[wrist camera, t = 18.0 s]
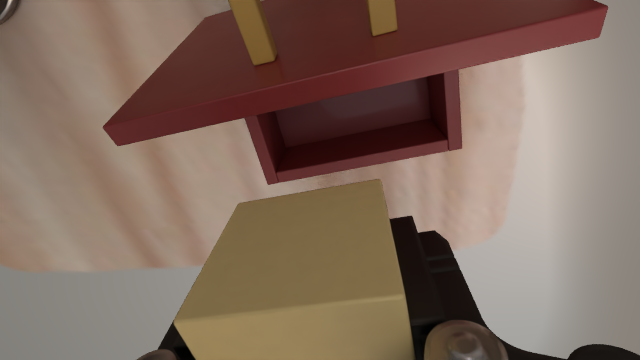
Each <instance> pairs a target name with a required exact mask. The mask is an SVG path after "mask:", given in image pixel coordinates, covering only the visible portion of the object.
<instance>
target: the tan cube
mask: <svg viewBox="0 0 640 360" xmlns="http://www.w3.org/2000/svg"><path fill="white" fill-rule="evenodd" d="M174 325H175V327H176V329H177V330H178V332H179V334H180V335H181V337H182V338H183V340H184V342H185V343H186V345H187V346H188V348H189V350H190V351H191V353H192V354H193V356H194V358H195V359H196V360H416V358H415V352H414V345H413V339H412V333H411V327H410V321H409V314H408V308H407V302H406V296H405V291H404V286H403V282H402V277H401V272H400V267H399V263H398V258H397V253H396V248H395V244H394V239H393V234H392V230H391V225H390V220H389V215H388V211H387V206H386V201H385V197H384V192H383V187H382V182H381V180H380V179H375V180H369V181H363V182H358V183H352V184H346V185H340V186H335V187H329V188H323V189H317V190H312V191H306V192H300V193H294V194H289V195H283V196H277V197H271V198H266V199H260V200H254V201H248V202H243V203H239V204H238V205H237V207H236V209H235V210H234V212H233V214H232V216H231V218H230V220H229V221H228V223H227V225H226V227H225V229H224V230H223V232H222V234H221V236H220V238H219V239H218V241H217V243H216V245H215V247H214V248H213V250H212V252H211V254H210V256H209V258H208V259H207V261H206V263H205V265H204V267H203V268H202V270H201V272H200V274H199V276H198V277H197V279H196V281H195V283H194V285H193V286H192V288H191V290H190V292H189V294H188V295H187V297H186V299H185V301H184V303H183V305H182V306H181V308H180V310H179V312H178V314H177V315H176V317H175V319H174Z"/></svg>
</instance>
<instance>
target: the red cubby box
mask: <svg viewBox="0 0 640 360" xmlns="http://www.w3.org/2000/svg"><path fill="white" fill-rule="evenodd" d="M245 121H246V124H247V127H248V129H249V132H250V135H251V138H252V141H253V144H254V147H255V149H256V152H257V155H258V158H259V161H260V164H261V167H262V169H263V172H264V175H265V178H266V181H267V184H268V185H270V184H275V183H279V182H285V181H291V180H296V179H301V178H307V177H312V176H317V175H323V174H328V173H333V172H339V171H344V170H349V169H355V168H360V167H365V166H371V165H376V164H381V163H386V162H392V161H397V160H402V159H408V158H413V157H418V156H424V155H429V154H434V153H440V152H445V151H448V150H449V151H452V150H457V149H462V134H461V114H460V94H459V74H458V70H453V71H449V72H445V73H440V74H436V75H431V76H427V77H422V78H418V79H414V80H409V81H405V82H400V83H396V84H392V85H387V86H383V87H378V88H374V89H369V90H365V91H361V92H356V93H352V94H347V95H343V96H338V97H334V98H330V99H325V100H321V101H316V102H312V103H307V104H303V105H299V106H294V107H290V108H285V109H281V110H276V111H272V112H268V113H263V114H259V115H254V116H250V117H246V118H245Z"/></svg>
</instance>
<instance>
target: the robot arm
mask: <svg viewBox="0 0 640 360" xmlns="http://www.w3.org/2000/svg"><path fill="white" fill-rule="evenodd" d="M18 3H19V0H0V24H2V23H4V22H5V21H6V20H7V19H9V18H10V17H11V15H12V14H13V13H14V11H15V10H16V7H17V5H18ZM389 220H390V225H391V230H392V234H393V239H394V244H395V248H396V253H397V258H398V263H399V267H400V272H401V277H402V282H403V286H404V291H405V296H406V302H407V308H408V314H409V321H410V327H411V333H412V339H413V345H414V352H415V358H416V360H640V355H637V354H635V353H633V352H631V351H628V350H625V349H623V348H619V347H615V346H611V345H604V344H592V345H586V346H582V347H580V348H578V349H576V350H574V351H573V352H572V353H571V354H570V356H569V358H568V359H562V358H557V357H552V356H547V355H542V354H537V353H532V352H528V351H524V350H521V349H518V348H516V347H514V346H511V345H510V344H508V343H506V342H505V341H503V340H501V339H500V338H499V337H497V336H496V335H495V334H494V333H493V332H492V331H491V330H490V329H489V328H488V327H487V325H486V324H485V322H484V321H483V319H482V317H481V314H480V312H479V310H478V308H477V306H476V303H475V301H474V299H473V297H472V294H471V292H470V290H469V288H468V285H467V283H466V281H465V279H464V277H463V274H462V272H461V270H460V268H459V265H458V263H457V261H456V259H455V258H454V254H453V252H452V250H451V247H450V245H449V243H448V241H447V240H446V239H445V238H443V237H442V236H441V235H440V234H438V233H437V232H436V231H435V230H434V231H427V232H420V233H418V232H417V229H416V226H415V223H414V220H413V217H412V216H406V217H400V218H393V219H389ZM198 276H199V275H198ZM194 283H195V282H194ZM193 285H194V284H193ZM188 294H189V293H188ZM182 305H183V304H182ZM178 312H179V311H178ZM177 314H178V313H177ZM137 360H196V359H195V358H194V356H193V354H192V353H191V351H190V350H189V348H188V346H187V345H186V343H185V342H184V340H183V338H182V337H181V335H180V334H179V332H178V330H177V329H176V327H175V325H174V320H173V322H172V324H171V326H170V328H169V330H168V332H167V333H166V335H165V337H164V339H163V340H162V342H161V344H160V346H159V348H158V350H155V351H152V352H149V353H147V354H145V355H143V356H141V357H140V358H138V359H137Z"/></svg>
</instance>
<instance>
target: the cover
mask: <svg viewBox="0 0 640 360" xmlns="http://www.w3.org/2000/svg"><path fill="white" fill-rule="evenodd" d="M228 1H229V4H230V7H231V9H232V10H229V11H226V12H222V13H219V14H215V15H212V16H208V17H205V18H204V20H203V21H202V22H201V23H200V24H199V25H198V26H197V27H196V28H195V29H194V30H193V31H192V32H191V33H190V34H189V35H188V37H187V38H186V39H185V40H184V41H183V42H182V43H181V44H180V45H179V46H178V47H177V48H176V49H175V50H174V51H173V53H172V54H171V55H170V56H169V57H168V58H167V59H166V60H165V61H164V62H163V63H162V64H161V65H160V66H159V67H158V68H157V70H156V71H155V72H154V73H153V74H152V75H151V76H150V77H149V78H148V79H147V80H146V81H145V82H144V83H143V84H142V86H141V87H140V88H139V89H138V90H137V91H136V92H135V93H134V94H133V95H132V96H131V97H130V98H129V99H128V100H127V101H126V103H125V104H124V105H123V106H122V107H121V108H120V109H119V110H118V111H117V112H116V113H115V114H114V115H113V116H112V117H111V119H110V120H109V121H108V122H107V123H106V124H105V125H104V126H103V129H104V130H105V131H106V133H107V134H108V135H109V136H110V138H111V139H112V140H113V141H114V143H115V144H116V145H117V146H122V145H126V144H131V143H135V142H139V141H144V140H148V139H153V138H157V137H161V136H166V135H170V134H175V133H179V132H184V131H188V130H192V129H197V128H201V127H206V126H210V125H215V124H219V123H223V122H228V121H232V120H237V119H241V118H246V117H250V116H254V115H259V114H263V113H268V112H272V111H276V110H281V109H285V108H290V107H294V106H299V105H303V104H307V103H312V102H316V101H321V100H325V99H330V98H334V97H338V96H343V95H347V94H352V93H356V92H361V91H365V90H369V89H374V88H378V87H383V86H387V85H392V84H396V83H400V82H405V81H409V80H414V79H418V78H422V77H427V76H431V75H436V74H440V73H445V72H449V71H453V70H458V69H462V68H467V67H471V66H476V65H480V64H484V63H489V62H493V61H498V60H502V59H507V58H511V57H515V56H520V55H524V54H529V53H533V52H537V51H541V50H546V49H550V48H555V47H560V46H564V45H568V44H573V43H577V42H582V41H586V40H590V39H595V38H598V37H599V36H600V34H601V30H602V26H603V24H604V20H605V17H606V13H607V10H608V6H607V5H604V4H602V3H599V2H597V1H594V0H264V1H260V0H228Z"/></svg>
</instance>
